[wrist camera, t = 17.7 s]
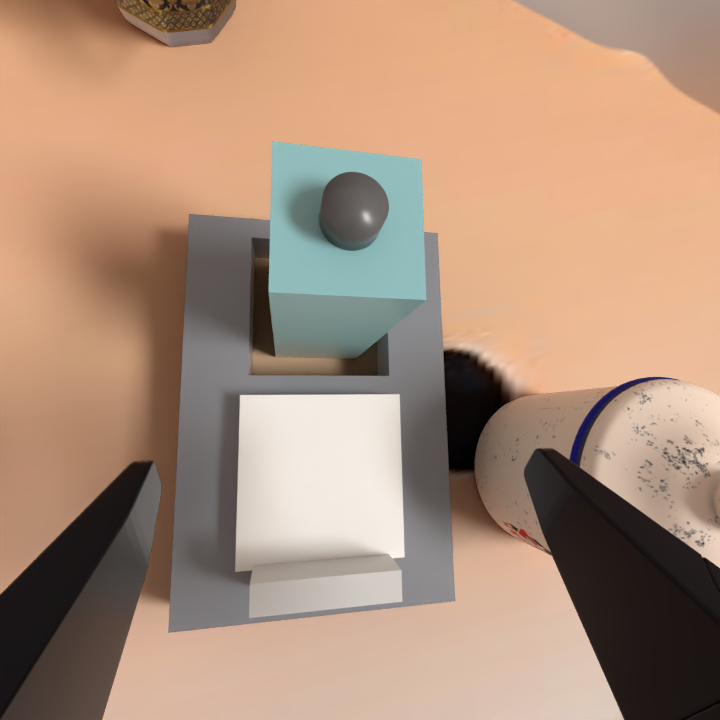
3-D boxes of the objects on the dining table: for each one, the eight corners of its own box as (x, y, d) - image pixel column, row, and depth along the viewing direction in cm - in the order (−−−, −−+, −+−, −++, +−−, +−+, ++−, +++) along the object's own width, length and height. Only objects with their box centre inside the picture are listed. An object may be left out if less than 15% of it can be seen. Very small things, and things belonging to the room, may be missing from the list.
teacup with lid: (470, 551, 22) (663, 685, 11) (464, 390, 24) (629, 362, 12) (650, 539, 25) (962, 641, 13) (635, 393, 26) (907, 372, 15)
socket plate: (435, 580, 22) (455, 600, 19) (182, 605, 19) (168, 632, 17) (422, 251, 25) (437, 233, 22) (199, 236, 22) (189, 214, 20)
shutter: (400, 573, 19) (420, 599, 16) (236, 589, 18) (228, 620, 15) (395, 395, 20) (412, 391, 17) (241, 396, 19) (234, 391, 16)
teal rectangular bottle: (355, 358, 23) (439, 289, 11) (275, 357, 22) (267, 279, 10) (355, 275, 24) (432, 120, 11) (277, 270, 23) (272, 98, 11)
